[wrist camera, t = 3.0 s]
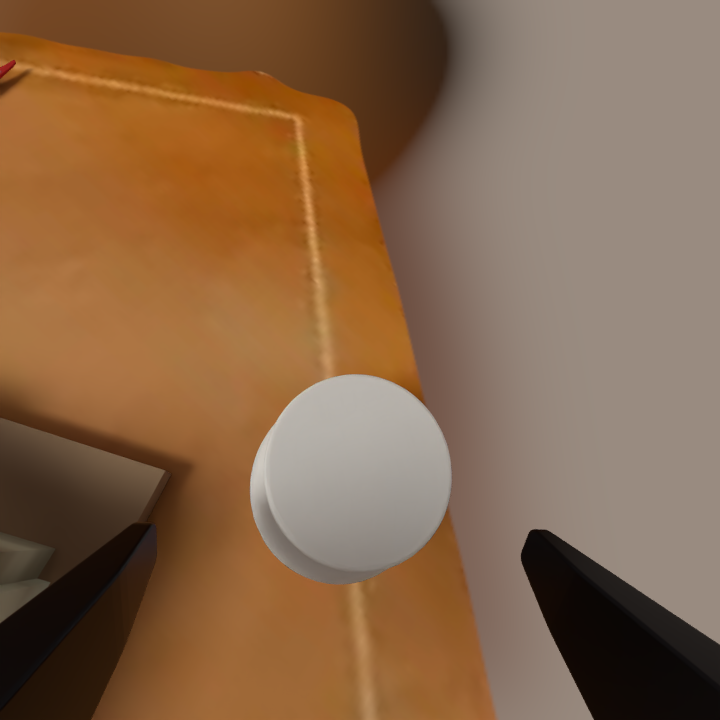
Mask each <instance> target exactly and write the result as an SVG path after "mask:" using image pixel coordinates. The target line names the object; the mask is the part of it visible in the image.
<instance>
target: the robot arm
mask: <svg viewBox="0 0 720 720" xmlns="http://www.w3.org/2000/svg"><path fill="white" fill-rule="evenodd" d="M156 556H157V533H156V525H155V524H154V523H153V522H135V523H132V524H131V525H129V526H128V527H127V528H125V529H124V530H123V531H121V532H120V533H119V534H117V535H116V536H115V537H113V538H112V539H111V540H109V541H108V542H107V543H105V544H104V545H103V546H101V547H100V548H99V549H97V550H96V551H95V552H93V553H92V554H91V555H89V556H88V557H87V558H85V559H84V560H83V561H81V562H80V563H79V564H77V565H76V566H75V567H74V568H72V569H71V570H70V571H68V572H67V573H66V574H64V575H63V576H62V577H60V578H59V579H58V580H56V581H55V582H54V583H52V584H51V585H50V586H48V587H47V588H46V589H44V590H43V591H42V592H40V593H39V594H38V595H36V596H35V597H34V598H32V599H31V600H30V601H28V602H27V603H26V604H24V605H23V606H22V607H21V608H19V609H18V610H17V611H15V612H14V613H13V614H11V615H10V616H9V617H7V618H6V619H5V620H3V621H2V622H1V623H0V720H91V719H92V717H93V714H94V712H95V710H96V708H97V706H98V704H99V702H100V699H101V697H102V695H103V693H104V691H105V689H106V686H107V684H108V682H109V680H110V678H111V676H112V674H113V671H114V669H115V667H116V665H117V663H118V661H119V658H120V656H121V654H122V652H123V649H124V647H125V644H126V642H127V639H128V637H129V634H130V631H131V628H132V626H133V623H134V620H135V617H136V614H137V612H138V609H139V606H140V603H141V601H142V598H143V595H144V592H145V589H146V587H147V584H148V581H149V578H150V575H151V573H152V570H153V567H154V564H155V561H156ZM521 561H522V565H523V567H524V570H525V572H526V575H527V577H528V580H529V582H530V585H531V587H532V589H533V592H534V594H535V597H536V599H537V602H538V604H539V607H540V609H541V611H542V614H543V617H544V618H545V621H546V623H547V626H548V628H549V630H550V633H551V635H552V637H553V639H554V641H555V643H556V645H557V647H558V649H559V651H560V653H561V655H562V657H563V659H564V661H565V663H566V665H567V667H568V669H569V671H570V673H571V675H572V677H573V679H574V681H575V683H576V685H577V687H578V689H579V691H580V693H581V695H582V697H583V699H584V701H585V703H586V705H587V707H588V709H589V711H590V713H591V715H592V717H593V719H594V720H720V645H719V644H718V643H716V642H715V641H713V640H712V639H710V638H709V637H707V636H706V635H704V634H703V633H701V632H700V631H698V630H697V629H695V628H694V627H692V626H691V625H689V624H688V623H686V622H685V621H683V620H682V619H680V618H679V617H677V616H676V615H674V614H673V613H671V612H670V611H668V610H667V609H665V608H664V607H662V606H661V605H659V604H658V603H656V602H655V601H653V600H651V599H650V598H649V597H647V596H646V595H644V594H643V593H641V592H640V591H638V590H637V589H635V588H634V587H632V586H631V585H629V584H628V583H626V582H625V581H623V580H622V579H620V578H619V577H617V576H616V575H614V574H613V573H611V572H610V571H608V570H607V569H605V568H604V567H602V566H601V565H599V564H598V563H596V562H595V561H593V560H592V559H590V558H589V557H587V556H586V555H584V554H583V553H581V552H580V551H578V550H577V549H575V548H574V547H572V546H571V545H569V544H568V543H566V542H565V541H563V540H562V539H560V538H559V537H557V536H556V535H554V534H553V533H551V532H549V531H548V530H538V529H534V530H531V531H530V532H529V534H528V537H527V539H526V542H525V545H524V547H523V549H522V553H521Z"/></svg>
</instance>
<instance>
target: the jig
mask: <svg viewBox="0 0 720 720" xmlns="http://www.w3.org/2000/svg"><path fill="white" fill-rule="evenodd" d="M170 476H171V474H170V473H169V472H167V471H165V470H162V469H159V468H156V467H153V466H150V465H146V464H143V463H140V462H137V461H134V460H131V459H128V458H125V457H122V456H118V455H115V454H112V453H109V452H106V451H103V450H100V449H97V448H94V447H90V446H87V445H84V444H81V443H78V442H75V441H72V440H69V439H66V438H62V437H59V436H56V435H53V434H50V433H47V432H44V431H41V430H37V429H34V428H31V427H28V426H25V425H22V424H19V423H16V422H13V421H9V420H6V419H3V418H0V623H1V622H2V621H3V620H5V619H6V618H7V617H9V616H10V615H11V614H13V613H14V612H15V611H17V610H18V609H19V608H21V607H22V606H23V605H24V604H26V603H27V602H28V601H30V600H31V599H32V598H34V597H35V596H36V595H38V594H39V593H40V592H42V591H43V590H44V589H46V588H47V587H48V586H50V585H51V584H52V583H54V582H55V581H56V580H58V579H59V578H60V577H62V576H63V575H64V574H66V573H67V572H68V571H70V570H71V569H72V568H74V567H75V566H76V565H77V564H79V563H80V562H81V561H83V560H84V559H85V558H87V557H88V556H89V555H91V554H92V553H93V552H95V551H96V550H97V549H99V548H100V547H101V546H103V545H104V544H105V543H107V542H108V541H109V540H111V539H112V538H113V537H115V536H116V535H117V534H119V533H120V532H121V531H123V530H124V529H125V528H127V527H128V526H129V525H131V524H132V523H135V522H146V521H147V519H148V517H149V515H150V513H151V511H152V510H153V508H154V506H155V504H156V502H157V500H158V498H159V496H160V495H161V493H162V491H163V489H164V487H165V485H166V483H167V481H168V480H169V478H170Z"/></svg>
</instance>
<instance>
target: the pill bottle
mask: <svg viewBox="0 0 720 720" xmlns="http://www.w3.org/2000/svg"><path fill="white" fill-rule="evenodd" d="M451 485H452V467H451V460H450V455H449V450H448V445H447V442H446V440H445V437H444V435H443V433H442V431H441V429H440V427H439V425H438V423H437V421H436V420H435V418H434V417H433V415H432V414H431V413H430V411H429V410H428V409H427V408H426V407H425V406H424V404H423V403H422V402H421V401H420V400H419V399H417V398H416V397H415V396H414V395H413V394H411V393H410V392H409V391H407V390H406V389H404V388H402V387H401V386H399V385H397V384H395V383H393V382H391V381H388V380H386V379H382V378H379V377H375V376H370V375H360V374H350V375H342V376H336V377H332V378H328V379H326V380H323V381H321V382H318V383H316V384H314V385H312V386H311V387H309V388H307V389H306V390H304V391H303V392H302V393H300V394H299V395H298V396H297V397H296V398H294V399H293V400H292V401H291V402H290V403H289V405H288V406H287V407H286V408H285V409H284V411H283V412H282V413H281V415H280V416H279V418H278V419H277V421H276V423H275V424H274V425H273V426H272V428H271V429H270V431H269V432H268V433H267V435H266V437H265V438H264V440H263V442H262V443H261V445H260V448H259V450H258V452H257V455H256V458H255V461H254V464H253V468H252V474H251V480H250V499H251V506H252V512H253V516H254V519H255V522H256V525H257V527H258V530H259V532H260V534H261V536H262V538H263V540H264V542H265V543H266V545H267V546H268V548H269V549H270V550H271V552H272V553H273V554H274V555H275V556H276V557H277V558H278V559H279V560H280V561H281V562H282V563H283V564H285V565H286V566H287V567H288V568H290V569H291V570H293V571H294V572H296V573H298V574H300V575H302V576H304V577H306V578H309V579H312V580H314V581H318V582H323V583H328V584H350V583H356V582H361V581H364V580H367V579H370V578H372V577H374V576H376V575H378V574H380V573H382V572H383V571H385V570H387V569H388V568H391V567H393V566H396V565H398V564H400V563H402V562H404V561H405V560H407V559H409V558H410V557H412V556H413V555H414V554H416V553H417V552H418V551H419V550H420V549H421V548H423V547H424V546H425V544H426V543H427V542H428V541H429V540H430V539H431V537H432V536H433V535H434V533H435V532H436V530H437V529H438V527H439V525H440V524H441V522H442V520H443V517H444V515H445V512H446V510H447V506H448V503H449V499H450V493H451Z"/></svg>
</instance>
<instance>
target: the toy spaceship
mask: <svg viewBox="0 0 720 720" xmlns="http://www.w3.org/2000/svg"><path fill="white" fill-rule="evenodd" d="M15 64H16V62H15V60H13V61H11V62H9V63H8V64H6V65H4V66H2V67H0V78H2V77H3V76H4V75H5V74H6V73H7V72H8V71H9V70H10V69H12V68H13V67H14V65H15Z"/></svg>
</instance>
